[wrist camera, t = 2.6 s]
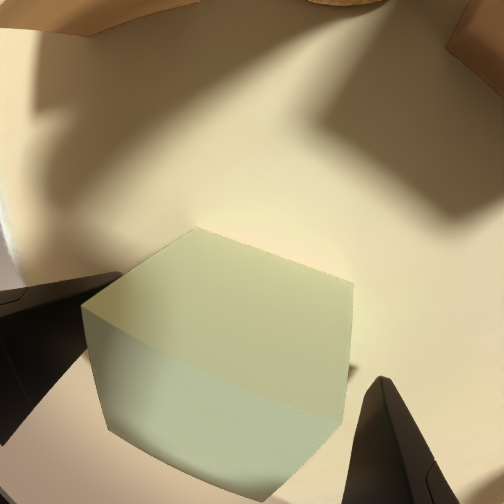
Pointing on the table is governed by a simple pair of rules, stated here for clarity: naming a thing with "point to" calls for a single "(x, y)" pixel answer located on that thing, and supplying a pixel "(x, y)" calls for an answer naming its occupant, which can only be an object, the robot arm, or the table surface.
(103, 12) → the oak cube
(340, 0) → the spice jar
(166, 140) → the table surface
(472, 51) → the walnut cube
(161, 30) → the table surface
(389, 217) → the table surface
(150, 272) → the sage cube
